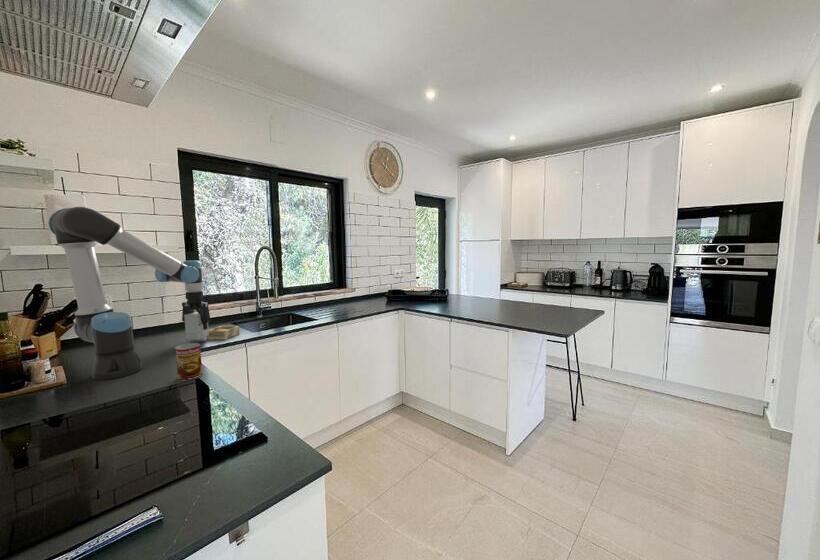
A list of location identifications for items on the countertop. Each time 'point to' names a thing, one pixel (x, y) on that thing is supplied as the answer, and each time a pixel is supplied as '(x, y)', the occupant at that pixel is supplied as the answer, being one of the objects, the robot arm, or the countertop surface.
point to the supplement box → (194, 326)
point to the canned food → (188, 360)
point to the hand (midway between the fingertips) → (197, 335)
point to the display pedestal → (223, 332)
